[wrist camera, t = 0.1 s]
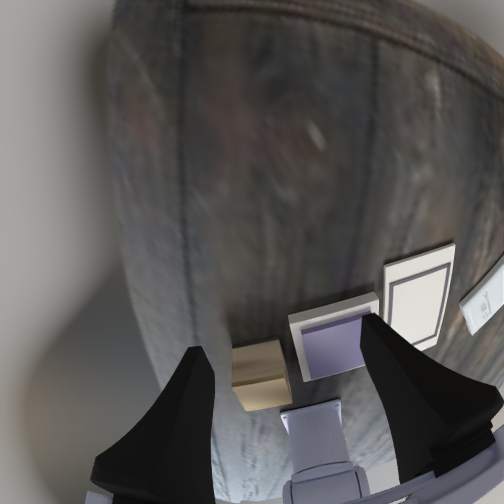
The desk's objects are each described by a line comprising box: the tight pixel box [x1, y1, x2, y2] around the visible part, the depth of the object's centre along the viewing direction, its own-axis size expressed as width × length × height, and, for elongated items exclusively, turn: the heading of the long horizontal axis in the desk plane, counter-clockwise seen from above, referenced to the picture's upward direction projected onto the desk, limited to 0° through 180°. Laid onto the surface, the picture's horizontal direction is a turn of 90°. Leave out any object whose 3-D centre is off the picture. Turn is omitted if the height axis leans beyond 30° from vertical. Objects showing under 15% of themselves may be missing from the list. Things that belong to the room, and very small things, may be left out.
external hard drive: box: [459, 255, 504, 335], centre depth 24 cm, size 2×8×12 cm
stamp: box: [232, 336, 293, 411], centre depth 24 cm, size 4×4×5 cm
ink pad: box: [288, 292, 379, 382], centre depth 24 cm, size 9×8×2 cm
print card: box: [383, 243, 455, 351], centre depth 24 cm, size 14×8×1 cm, turn 15°
